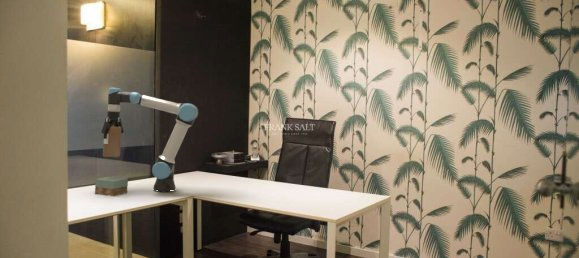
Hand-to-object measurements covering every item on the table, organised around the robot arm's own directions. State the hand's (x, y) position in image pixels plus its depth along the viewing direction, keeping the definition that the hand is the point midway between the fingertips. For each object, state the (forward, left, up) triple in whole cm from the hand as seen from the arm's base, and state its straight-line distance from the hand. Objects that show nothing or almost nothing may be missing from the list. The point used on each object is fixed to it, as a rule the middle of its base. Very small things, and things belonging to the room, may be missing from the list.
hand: (112, 143), depth 285 cm
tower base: (-3, +4, -33) cm, 33 cm away
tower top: (-3, +3, -28) cm, 28 cm away
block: (0, 0, -9) cm, 9 cm away
